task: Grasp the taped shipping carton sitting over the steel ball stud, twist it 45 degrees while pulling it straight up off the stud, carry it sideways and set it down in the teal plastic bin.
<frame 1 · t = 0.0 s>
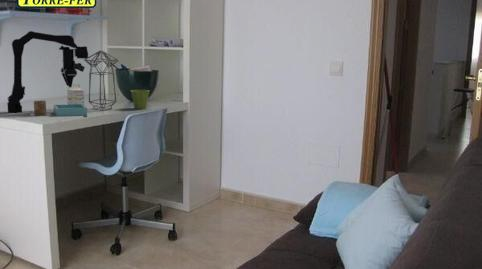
hand: (69, 86, 267), 15 cm above the table, fingers open, 9 cm apart
geometric lantern: (102, 109, 287), on the table
taped shipping carton: (40, 114, 253), point 1 cm above the table, touching stud plate
stud plate: (40, 116, 253), on the table
ink cartridge box: (76, 109, 285), on the table
bin: (70, 115, 260), on the table
plant pot: (140, 109, 297), on the table
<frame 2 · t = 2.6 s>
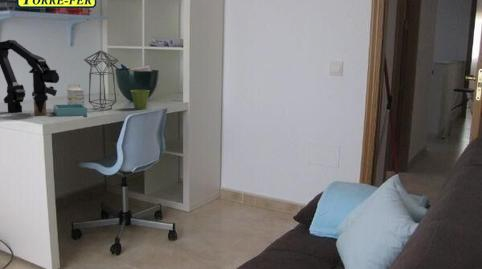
hand: (40, 111, 253), 3 cm above the table, fingers closed on taped shipping carton, 5 cm apart
taped shipping carton: (40, 114, 253), point 1 cm above the table, touching gripper, stud plate
everything else where it was.
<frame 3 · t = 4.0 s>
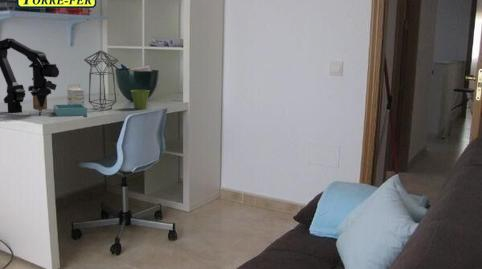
hand: (40, 106, 252), 5 cm above the table, fingers closed on taped shipping carton, 5 cm apart
taped shipping carton: (40, 109, 252), point 4 cm above the table, touching gripper
everything else where it was.
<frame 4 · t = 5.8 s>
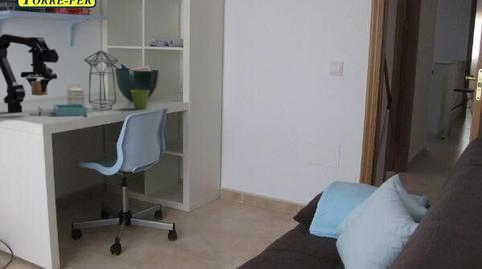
hand: (39, 91, 251), 13 cm above the table, fingers closed on taped shipping carton, 5 cm apart
taped shipping carton: (39, 94, 251), point 11 cm above the table, touching gripper
everything else where it was.
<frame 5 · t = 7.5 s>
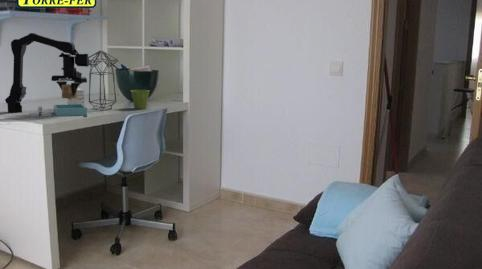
hand: (69, 95, 258), 11 cm above the table, fingers closed on taped shipping carton, 5 cm apart
taped shipping carton: (69, 97, 258), point 10 cm above the table, touching gripper
everything else where it was.
when the fingers open (5 cm above the table, at t = 8.9 s): taped shipping carton drops 2 cm, resting on bin.
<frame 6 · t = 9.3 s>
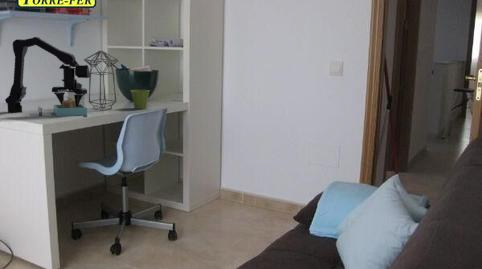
hand: (69, 106, 259), 5 cm above the table, fingers open, 9 cm apart
taped shipping carton: (70, 113, 260), point 1 cm above the table, touching bin
everything else where it was.
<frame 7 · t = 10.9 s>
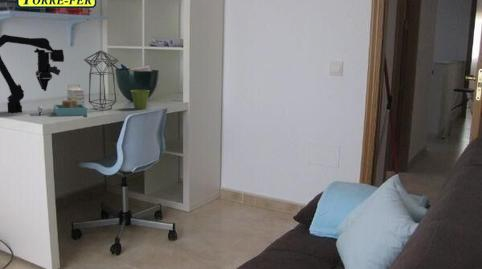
hand: (43, 90, 262), 13 cm above the table, fingers open, 9 cm apart
nothing on the table moved.
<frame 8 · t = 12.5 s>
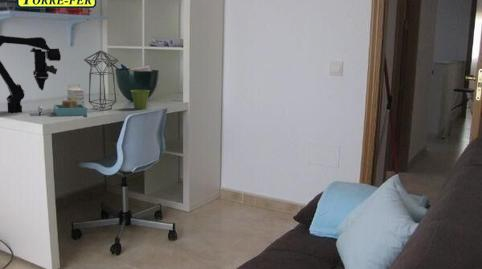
hand: (41, 89, 263), 13 cm above the table, fingers open, 9 cm apart
nothing on the table moved.
at the end: taped shipping carton inside the target area on the bin (0.1 cm from its centre), point 1.0 cm above the bin's base; the gripper is holding nothing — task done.
